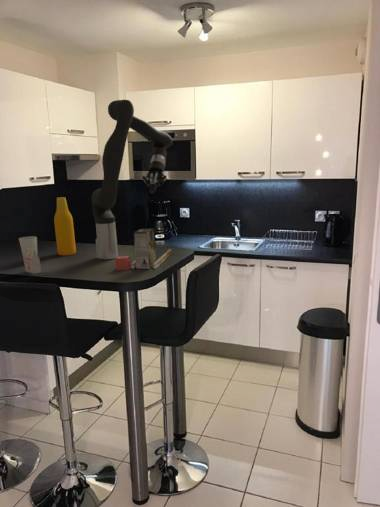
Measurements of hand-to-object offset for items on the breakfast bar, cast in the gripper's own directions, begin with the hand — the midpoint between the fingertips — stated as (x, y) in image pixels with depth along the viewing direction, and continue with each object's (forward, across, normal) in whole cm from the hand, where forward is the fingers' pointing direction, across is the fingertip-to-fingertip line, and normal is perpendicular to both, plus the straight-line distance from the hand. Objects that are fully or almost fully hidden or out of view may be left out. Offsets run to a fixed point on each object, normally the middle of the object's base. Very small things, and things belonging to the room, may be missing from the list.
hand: (151, 191), depth 200 cm
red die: (+43, -6, 0) cm, 43 cm away
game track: (+32, +3, +11) cm, 34 cm away
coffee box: (+40, +3, +3) cm, 40 cm away
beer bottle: (+24, -47, +19) cm, 56 cm away
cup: (+37, -56, +6) cm, 67 cm away
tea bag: (+49, -44, -5) cm, 66 cm away
